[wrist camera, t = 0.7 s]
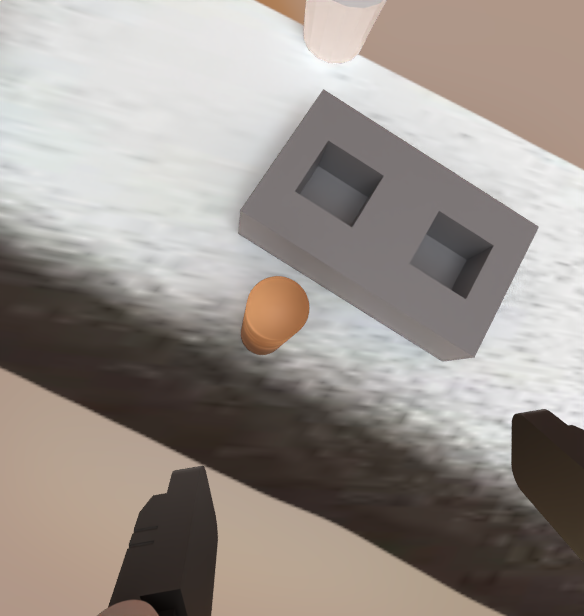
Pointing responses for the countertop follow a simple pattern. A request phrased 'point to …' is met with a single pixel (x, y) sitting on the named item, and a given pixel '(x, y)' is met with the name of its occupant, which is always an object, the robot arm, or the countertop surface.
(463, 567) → the countertop surface
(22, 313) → the countertop surface
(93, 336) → the countertop surface
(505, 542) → the countertop surface
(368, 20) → the shot glass
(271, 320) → the peg
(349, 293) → the hole block
